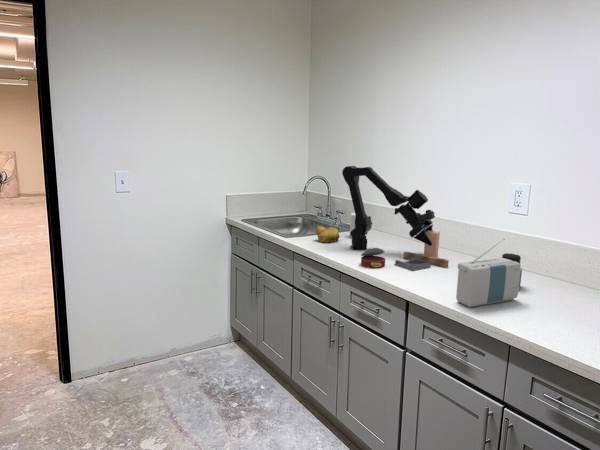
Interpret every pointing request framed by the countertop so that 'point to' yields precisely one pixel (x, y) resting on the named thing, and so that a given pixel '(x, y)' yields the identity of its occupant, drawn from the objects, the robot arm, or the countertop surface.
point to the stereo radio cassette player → (487, 281)
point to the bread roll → (327, 234)
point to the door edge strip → (427, 259)
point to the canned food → (372, 258)
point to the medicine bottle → (514, 258)
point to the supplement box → (352, 222)
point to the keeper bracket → (413, 264)
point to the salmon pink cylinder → (434, 247)
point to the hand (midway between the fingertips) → (433, 243)
